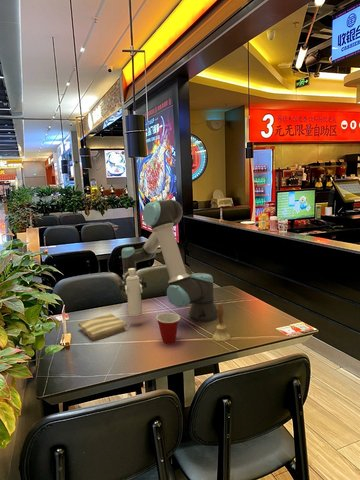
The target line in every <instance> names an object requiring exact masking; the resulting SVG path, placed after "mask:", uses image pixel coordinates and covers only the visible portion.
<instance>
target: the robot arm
mask: <svg viewBox="0 0 360 480" xmlns="http://www.w3.org/2000/svg"><path fill="white" fill-rule="evenodd" d="M183 212H184V211H183V207H182V205H181V203H180V202H178V201H176V200H174V199H165V200H164V199H163V200H155V201H150V202H148V203H146V204H145V206H144V208H143V210H142V220H143V223H144V224H145V225H146V226H149V227H150V229H151V231H152V233H151V234H150V235H149V237H148V239H147V240H146V241H145V243H144V244H143V246H142V247H141V248H136V249H135V248H134V247H133V246H129V247H128V246H127V247H123V248H122V250H121V260H122V270H123V271H122V272H123V273H122V275H123V279H124V280H118V282H119V283H118V287H119V289H118V290H119V291H122V292H123V293H125V295H127V286H126V278H127V277H128V276H129V273H128V269H130V268H135V271H136V272H135V275H137V276H138V273H137V263H140V262H144V261H148V260H151V259H154V258H155V257H156V255H157V250H158V248H159V247H160V250H161V254H162V257H163V260H164V263H165V267H166V270H167V272H168V273H167V274H168V276H169V280H168V283H167V284H168V287H167V289H166V296H167V299H168V302H170V304H171V305H173V306H174V307H176V308H184V307H187V306H189V305H190V309H189V312H188V317H189V319H190V320H192V321H194V322H200V323H201V322H202V323H203V322H211V321H214V320H216V319H217V318H219V316H218V312H217V309H218V308H217V307H216V304H215V301H214V299H215V297H214V294H215V293H214V279H213V276H212V274H210V273H205V272H197V273H195V272H194V273H191V274H189V273H187V270H186V267H185V264H184V261H183V259H182V254H181V251H180V248H179V245H178V242H177V240H176V236H175V233H174V229H173V227H176V226H177V225H178V224H179V223H180V221H181V220H182V217H183ZM139 281H140V293H141V294H142V293H143V290H144V289H147V282H146V280H145V278H144V277H143V278H141V279H140V278H139Z"/></svg>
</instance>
